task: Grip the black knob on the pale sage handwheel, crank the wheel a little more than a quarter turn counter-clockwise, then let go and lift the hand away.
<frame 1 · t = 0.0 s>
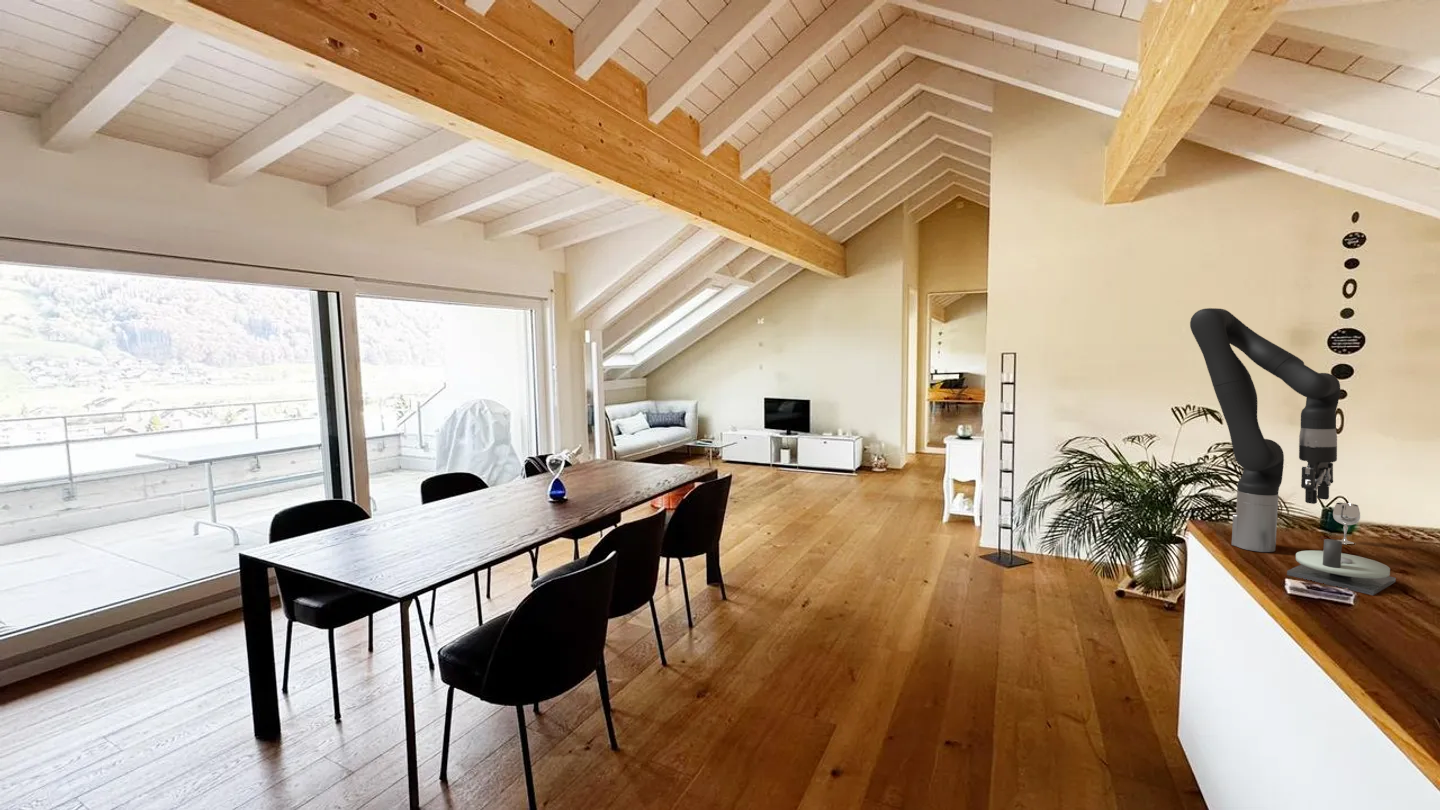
hand: (1317, 501, 168), 17 cm above the table, tool pointing down, fingers open, 8 cm apart
wineglass: (1344, 543, 183), on the table
handwheel: (1341, 551, 155), point 7 cm above the table, hinge at 0.0°
wheel stand: (1340, 578, 156), on the table
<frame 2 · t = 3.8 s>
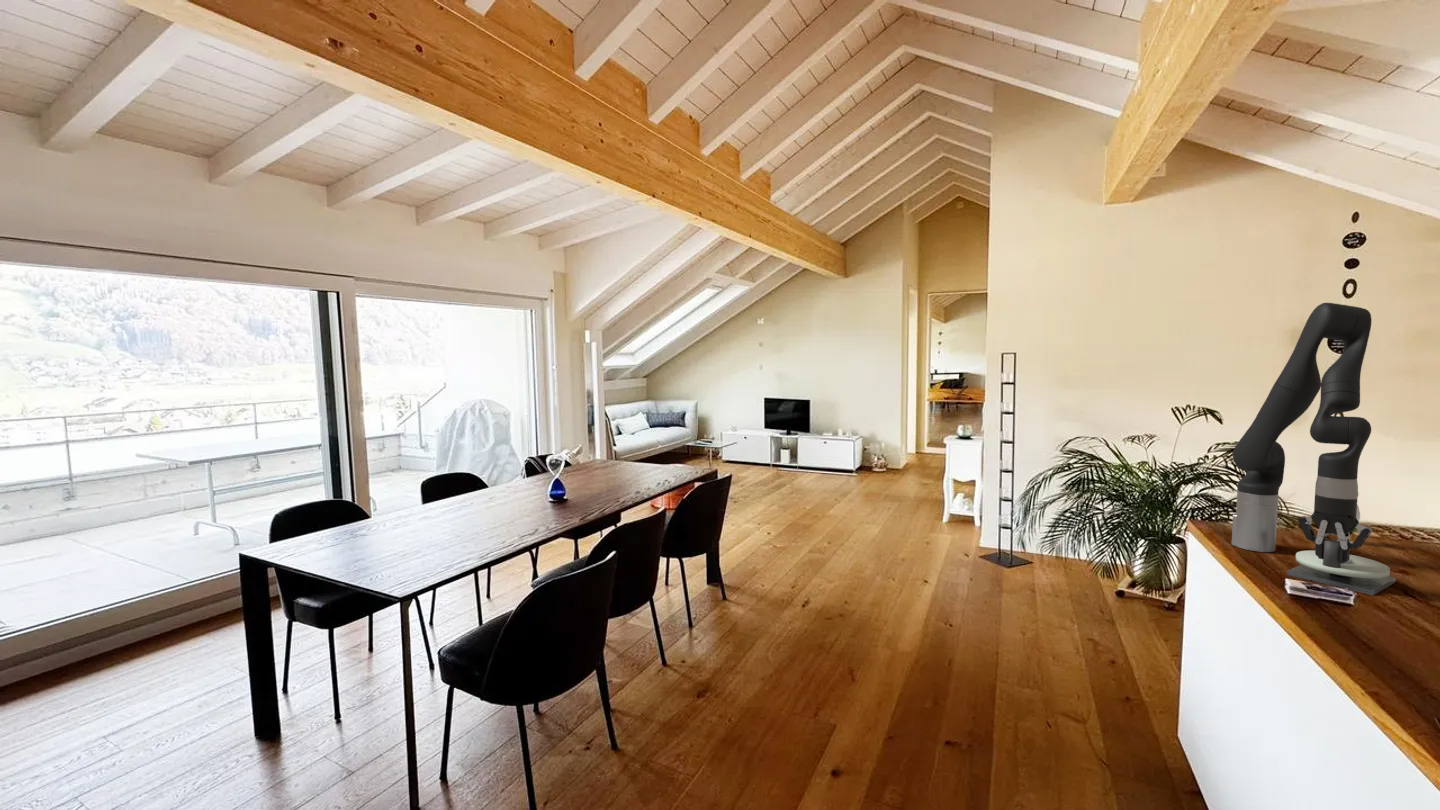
hand: (1331, 560, 152), 6 cm above the table, tool pointing down, fingers closed on handwheel, 3 cm apart
handwheel: (1341, 551, 155), point 7 cm above the table, hinge at -0.1°, touching gripper
everything else where it was.
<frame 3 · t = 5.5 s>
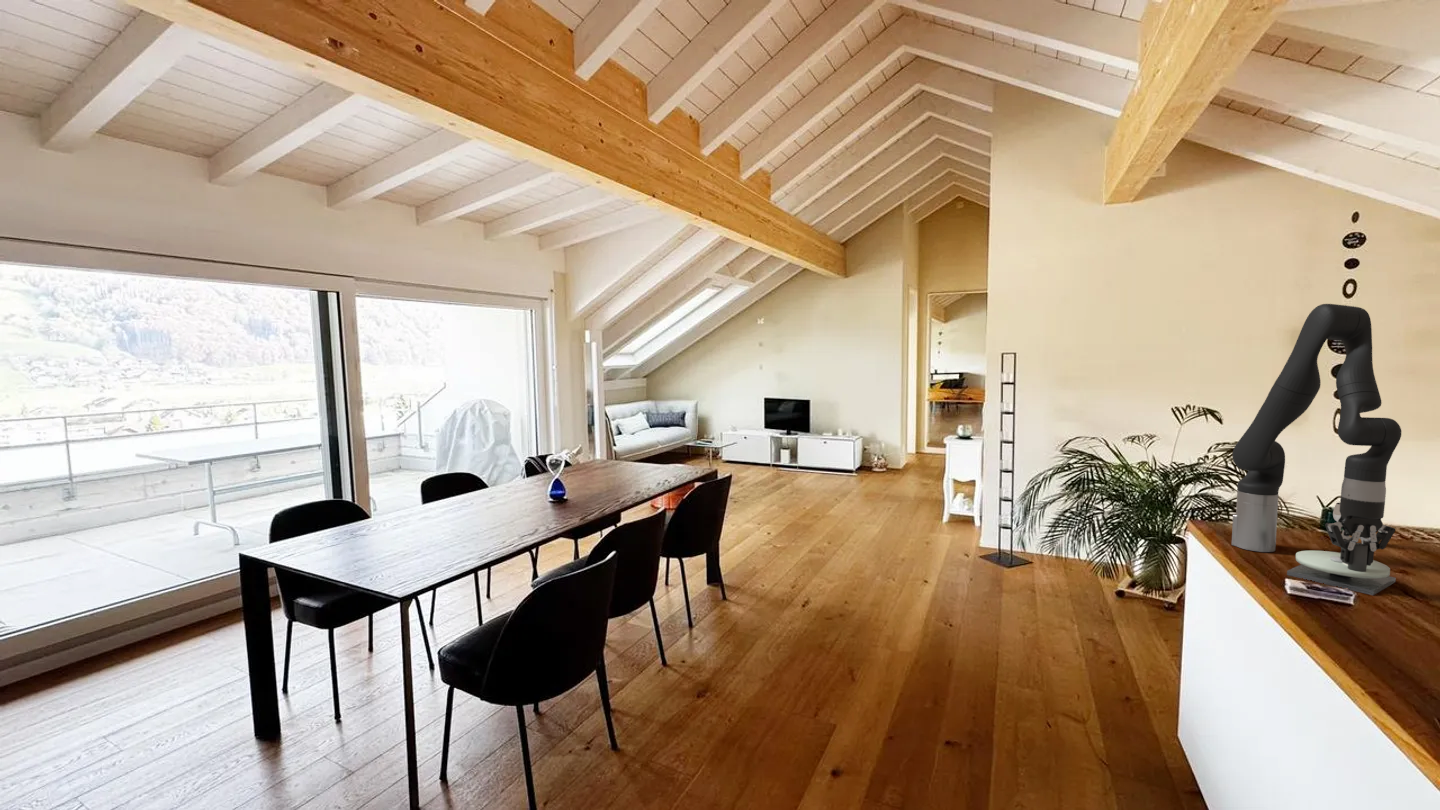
hand: (1356, 563, 149), 6 cm above the table, tool pointing down, fingers closed on handwheel, 3 cm apart
handwheel: (1341, 551, 155), point 7 cm above the table, hinge at 40.2°, touching gripper
everything else where it was.
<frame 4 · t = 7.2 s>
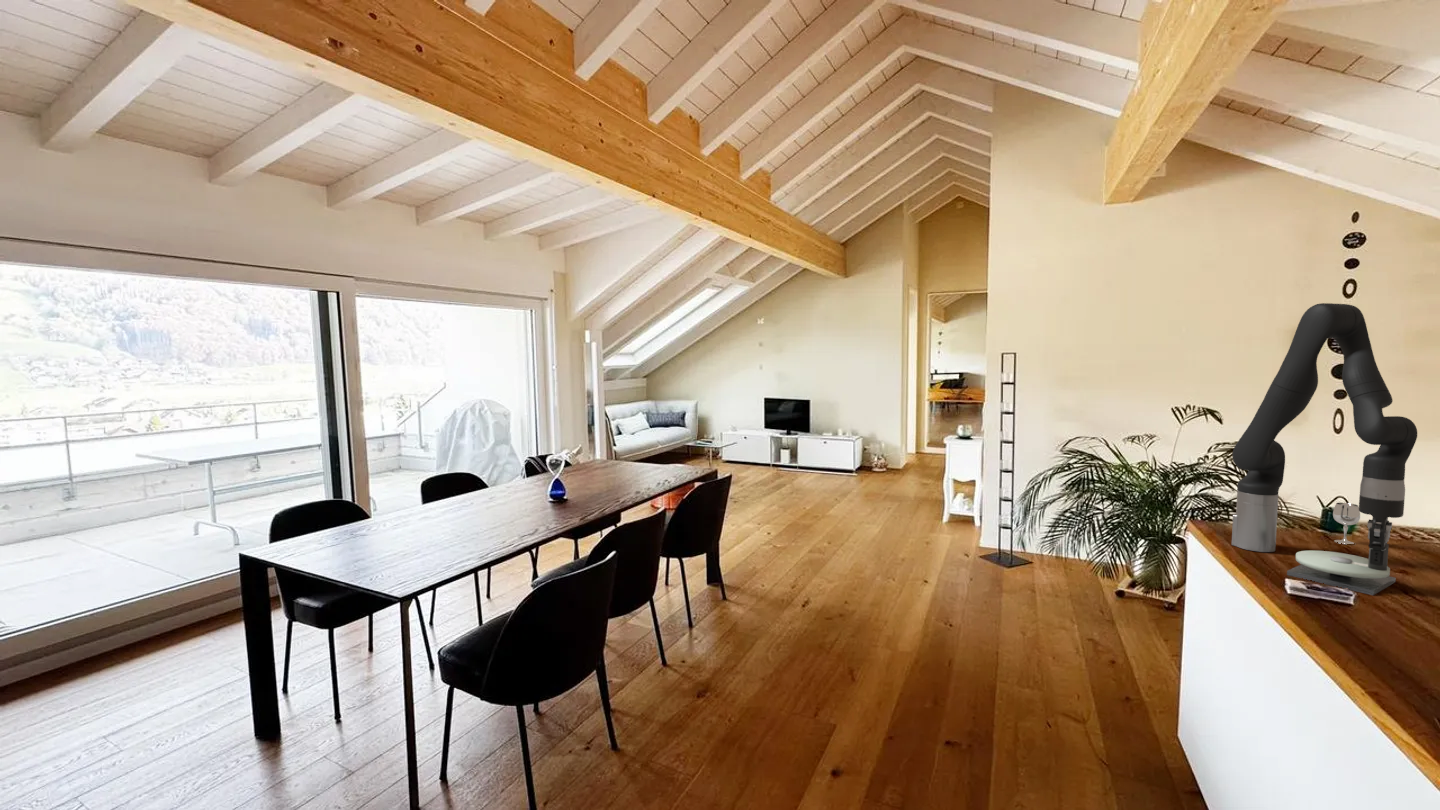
hand: (1377, 562, 150), 6 cm above the table, tool pointing down, fingers closed on handwheel, 3 cm apart
handwheel: (1341, 551, 155), point 7 cm above the table, hinge at 92.5°, touching gripper
everything else where it was.
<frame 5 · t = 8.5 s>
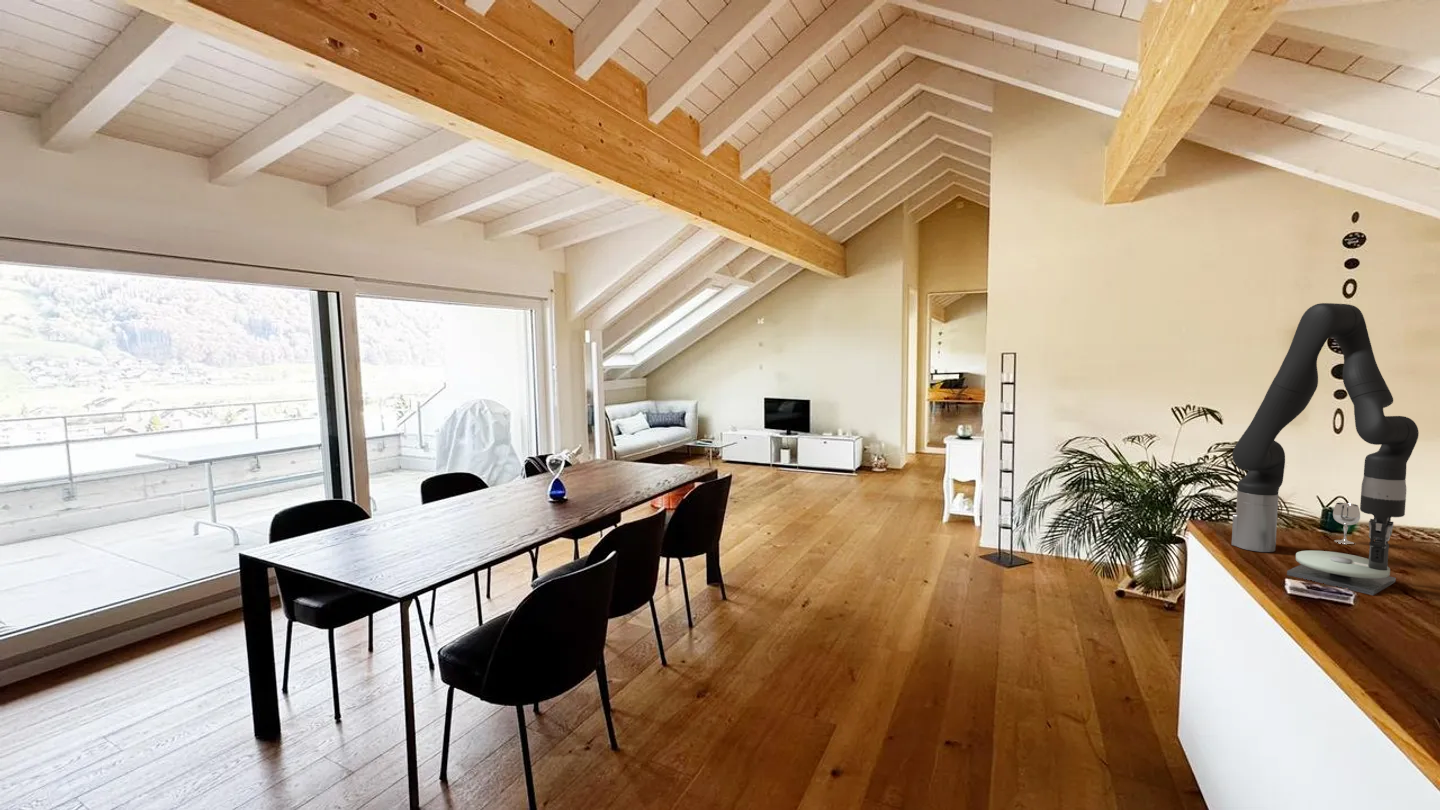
hand: (1378, 558, 150), 7 cm above the table, tool pointing down, fingers open, 8 cm apart
handwheel: (1341, 551, 155), point 7 cm above the table, hinge at 94.4°
everything else where it was.
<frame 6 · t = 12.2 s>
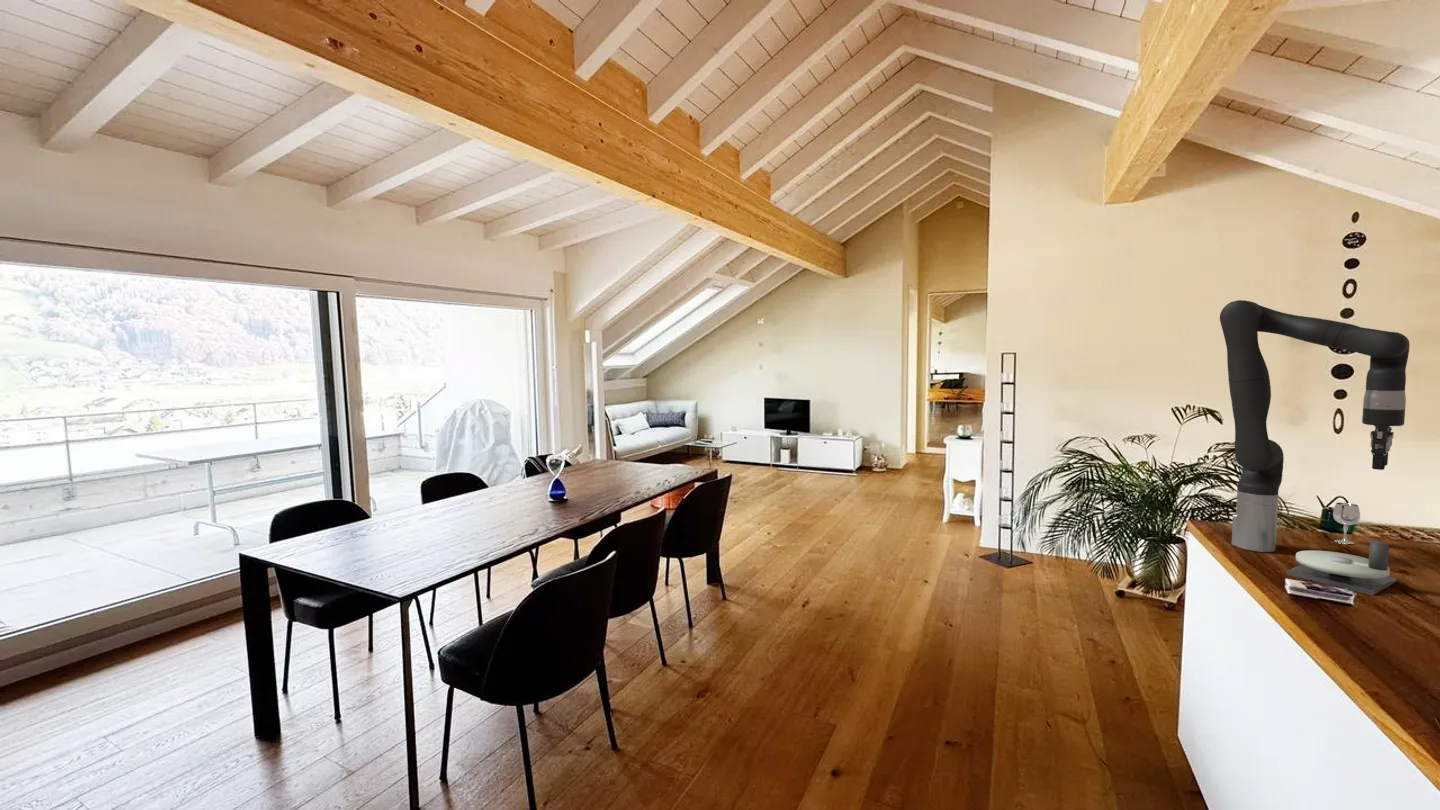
hand: (1379, 467, 159), 28 cm above the table, tool pointing down, fingers open, 8 cm apart
nothing on the table moved.
at the end: handwheel at +94° (first picture: +0°); the gripper is holding nothing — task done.
